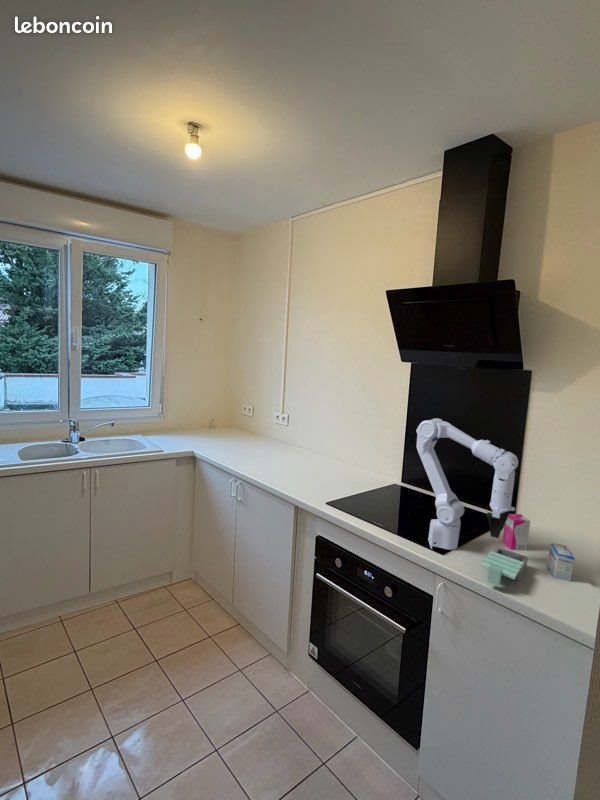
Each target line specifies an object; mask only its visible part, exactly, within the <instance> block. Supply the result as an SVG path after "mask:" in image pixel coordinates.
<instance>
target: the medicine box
mask: <svg viewBox="0 0 600 800" xmlns="http://www.w3.org/2000/svg"><path fill="white" fill-rule="evenodd" d="M574 562H575V556H574V555H573V554H572V552H571V551H570V549H569V548H568V546H567V545H565V544H564V545H563V544H560V543H555V542H554V543H553V542H552V543H551V544H550V548H549V553H548V559H547V564H546V567H547V569H548V570H549V572H550V574H551V575H552V577H553V578H554V579H558V580H561V581H567V582H571V580H572V575H573V574H572V573H573V569H574Z"/></svg>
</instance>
